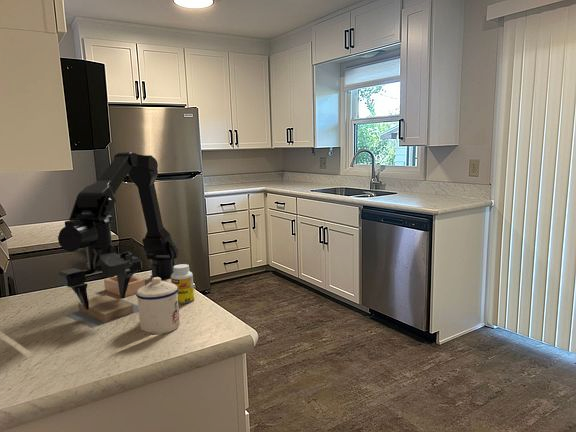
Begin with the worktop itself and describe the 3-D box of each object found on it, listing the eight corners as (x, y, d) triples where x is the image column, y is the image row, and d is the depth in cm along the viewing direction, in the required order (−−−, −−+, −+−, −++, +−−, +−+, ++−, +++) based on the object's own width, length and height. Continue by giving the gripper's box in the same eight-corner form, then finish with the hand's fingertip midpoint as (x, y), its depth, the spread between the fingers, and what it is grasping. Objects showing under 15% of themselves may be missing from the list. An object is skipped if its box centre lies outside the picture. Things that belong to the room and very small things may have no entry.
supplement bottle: (169, 307, 108) (166, 269, 107) (177, 300, 114) (174, 263, 112) (190, 307, 108) (187, 268, 106) (197, 299, 113) (194, 263, 112)
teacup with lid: (183, 331, 93) (179, 280, 92) (140, 339, 90) (135, 286, 88) (177, 312, 104) (173, 267, 103) (138, 319, 101) (134, 272, 100)
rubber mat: (118, 301, 115) (117, 298, 115) (147, 311, 106) (146, 308, 106) (65, 317, 104) (64, 314, 104) (92, 331, 95) (92, 327, 95)
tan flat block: (106, 302, 112) (106, 295, 111) (133, 312, 104) (132, 304, 103) (79, 310, 106) (78, 303, 106) (105, 322, 98) (104, 314, 98)
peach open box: (125, 286, 128) (124, 273, 127) (145, 293, 121) (144, 279, 120) (105, 292, 123) (103, 279, 122) (125, 299, 116) (123, 285, 115)
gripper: (75, 254, 90) (83, 323, 92) (151, 238, 104) (156, 298, 107) (52, 248, 97) (60, 312, 99) (127, 234, 111) (133, 291, 114)
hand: (105, 303), depth 105 cm, fingers open, 9 cm apart
